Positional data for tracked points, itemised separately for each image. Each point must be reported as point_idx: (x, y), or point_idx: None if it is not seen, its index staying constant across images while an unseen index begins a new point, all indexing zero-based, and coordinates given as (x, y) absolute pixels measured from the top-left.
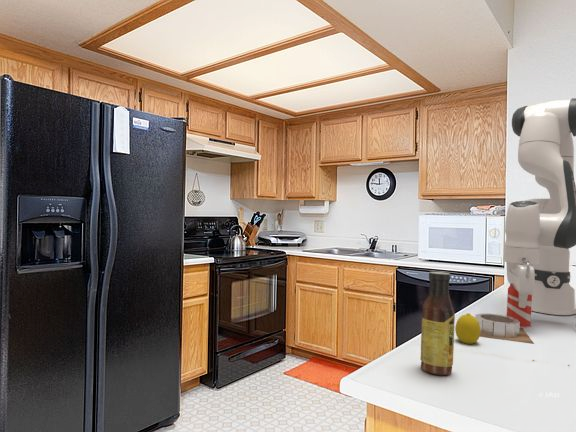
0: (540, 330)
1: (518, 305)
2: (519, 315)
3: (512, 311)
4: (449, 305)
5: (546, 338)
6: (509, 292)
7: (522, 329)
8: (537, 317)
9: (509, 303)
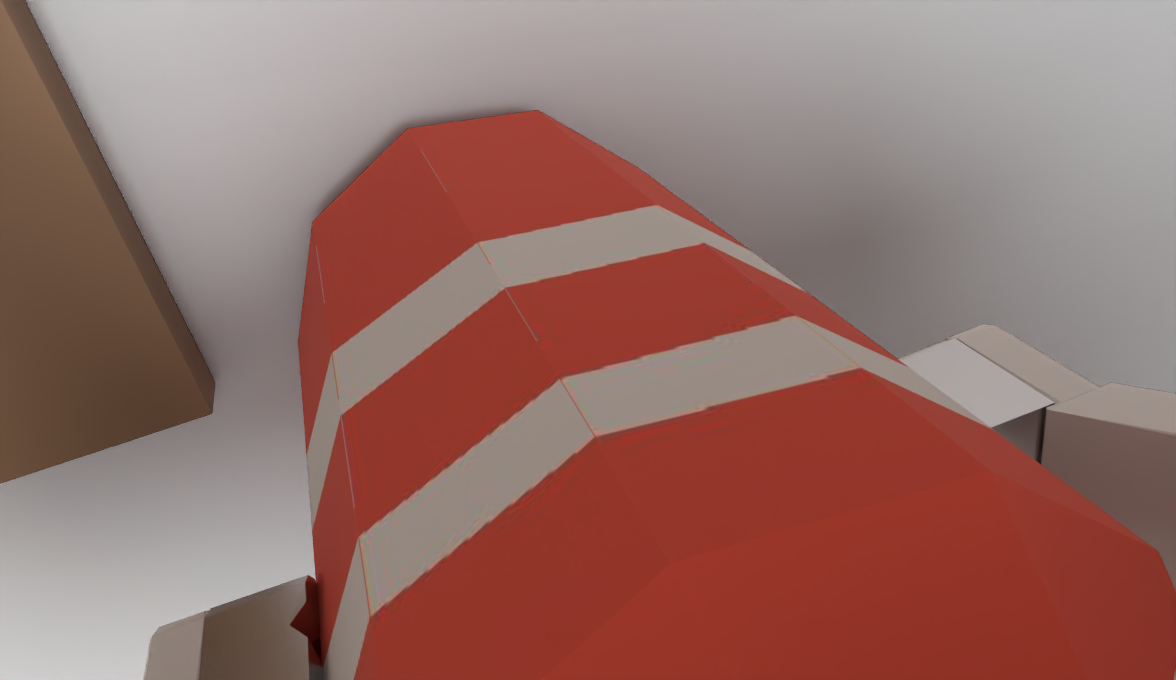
0: None
1: (193, 626)
2: (307, 455)
3: (326, 352)
4: None
5: (100, 667)
6: (531, 572)
7: (86, 434)
8: (1173, 359)
9: (429, 351)
